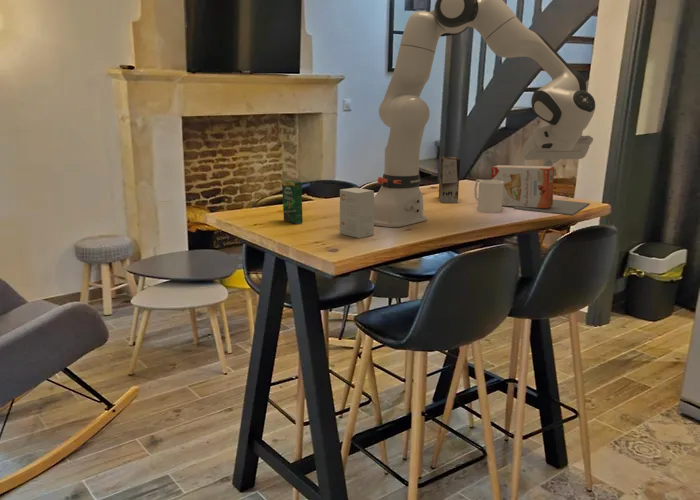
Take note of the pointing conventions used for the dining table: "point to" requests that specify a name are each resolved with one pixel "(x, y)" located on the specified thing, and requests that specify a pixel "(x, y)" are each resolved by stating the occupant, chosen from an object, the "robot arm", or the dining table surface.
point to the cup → (489, 195)
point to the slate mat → (559, 207)
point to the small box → (357, 212)
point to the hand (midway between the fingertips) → (546, 164)
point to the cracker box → (526, 185)
